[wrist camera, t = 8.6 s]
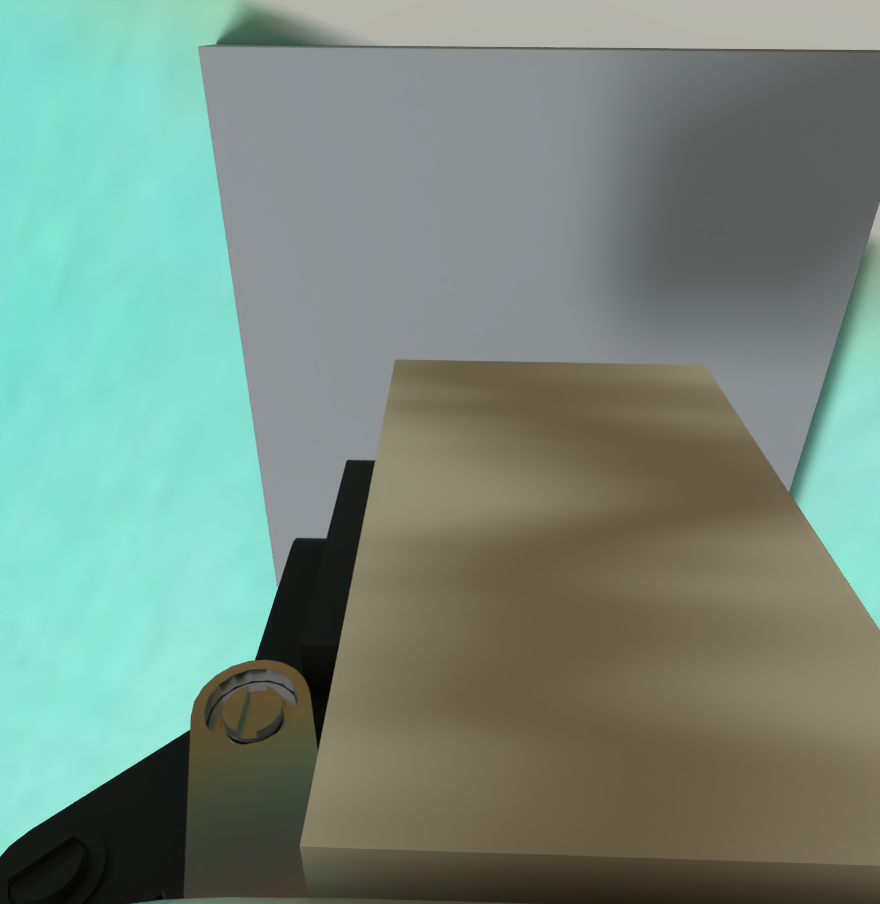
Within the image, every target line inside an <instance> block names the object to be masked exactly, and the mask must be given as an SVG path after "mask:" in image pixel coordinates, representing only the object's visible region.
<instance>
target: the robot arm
mask: <svg viewBox="0 0 880 904" xmlns="http://www.w3.org/2000/svg"><path fill="white" fill-rule="evenodd" d="M374 465H375V460H347V461H346V464H345V468H344V472H343V476H342V480H341V483H340V487H339V491H338V495H337V499H336V503H335V507H334V511H333V515H332V518H331V522H330V526H329V530H328V534H327V538H296V539H295V540H294V541H293V544H292V546H291V549H290V552H289V555H288V558H287V561H286V565H285V568H284V571H283V574H282V577H281V580H280V583H279V587H278V590H277V593H276V596H275V599H274V602H273V605H272V609H271V612H270V615H269V618H268V621H267V624H266V627H265V631H264V634H263V637H262V640H261V643H260V646H259V650H258V653H257V656H256V659H255V661H247V662H244V663H241V664H238V665H234V666H232V667H230V668H228V669H226V670H224V671H223V672H221V673H219V674H217V675H216V676H215V677H214V678H213V679H211V680H210V681H209V682H208V683H207V684H206V685H205V686H204V687H203V688H202V690H201V691H200V693H199V695H198V696H197V698H196V700H195V701H194V705H193V709H192V714H191V724H190V730H189V731H187V732H186V733H184V734H183V735H181V736H179V737H178V738H176V739H175V740H173V741H171V742H170V743H168V744H167V745H165V746H164V747H162V748H160V749H159V750H157V751H156V752H154V753H152V754H151V755H149V756H148V757H146V758H144V759H143V760H141V761H140V762H138V763H136V764H135V765H133V766H132V767H130V768H128V769H127V770H125V771H124V772H122V773H121V774H119V775H117V776H116V777H114V778H113V779H111V780H109V781H108V782H106V783H105V784H103V785H101V786H100V787H98V788H97V789H95V790H93V791H92V792H90V793H89V794H87V795H86V796H84V797H82V798H81V799H79V800H78V801H76V802H74V803H73V804H71V805H70V806H68V807H66V808H65V809H63V810H62V811H60V812H58V813H57V814H55V815H54V816H52V817H50V818H49V819H47V820H46V821H44V822H43V823H41V824H39V825H38V826H36V827H35V828H33V829H31V830H30V831H28V832H27V833H26V834H25V835H23V836H22V837H21V838H19V839H18V840H17V841H16V842H14V843H13V844H12V845H10V846H9V847H8V849H7V850H6V851H5V852H4V853H3V854H2V855H1V857H0V904H528V903H493V902H458V901H423V900H388V899H353V898H308V892H307V886H306V880H305V874H304V869H303V863H302V857H301V851H300V842H301V837H302V832H303V827H304V822H305V817H306V812H307V807H308V802H309V797H310V791H311V786H312V781H313V776H314V771H315V766H316V761H317V756H318V751H319V745H320V740H321V735H322V730H323V725H324V720H325V715H326V710H327V705H328V700H329V694H330V689H331V684H332V679H333V674H334V669H335V664H336V659H337V654H338V649H339V643H340V638H341V633H342V628H343V623H344V618H345V613H346V608H347V603H348V598H349V592H350V587H351V582H352V577H353V572H354V567H355V562H356V557H357V552H358V546H359V541H360V536H361V531H362V526H363V521H364V516H365V511H366V506H367V501H368V495H369V490H370V485H371V480H372V475H373V470H374Z"/></svg>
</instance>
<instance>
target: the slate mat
mask: <svg viewBox="0 0 880 904" xmlns="http://www.w3.org/2000/svg"><path fill="white" fill-rule="evenodd" d="M198 49H199V56H200V63H201V69H202V76H203V83H204V90H205V97H206V104H207V110H208V117H209V124H210V131H211V138H212V144H213V151H214V158H215V165H216V172H217V179H218V185H219V192H220V199H221V206H222V213H223V220H224V226H225V233H226V240H227V247H228V254H229V261H230V267H231V274H232V281H233V288H234V295H235V301H236V308H237V315H238V322H239V329H240V336H241V342H242V349H243V356H244V363H245V370H246V377H247V383H248V390H249V397H250V404H251V411H252V418H253V424H254V431H255V438H256V445H257V452H258V458H259V465H260V472H261V479H262V486H263V493H264V499H265V506H266V513H267V520H268V527H269V534H270V540H271V547H272V554H273V561H274V568H275V575H276V581H277V587H279V583H280V580H281V577H282V574H283V571H284V568H285V565H286V561H287V558H288V555H289V552H290V549H291V546H292V544H293V541H294V540H295V539H296V538H327V534H328V530H329V526H330V522H331V518H332V515H333V511H334V507H335V503H336V499H337V495H338V491H339V487H340V483H341V480H342V476H343V472H344V468H345V464H346V461H347V460H376V455H377V450H378V444H379V439H380V434H381V429H382V424H383V419H384V414H385V409H386V404H387V399H388V393H389V388H390V383H391V378H392V373H393V368H394V363H395V359H401V360H457V361H512V362H568V363H624V364H680V365H705V366H706V367H707V369H708V370H709V372H710V373H711V375H712V376H713V378H714V379H715V381H716V382H717V384H718V385H719V387H720V388H721V390H722V392H723V393H724V395H725V396H726V398H727V399H728V401H729V402H730V404H731V405H732V407H733V408H734V410H735V411H736V413H737V414H738V416H739V417H740V419H741V420H742V422H743V423H744V425H745V426H746V428H747V429H748V431H749V433H750V434H751V436H752V437H753V439H754V440H755V442H756V443H757V445H758V446H759V448H760V449H761V451H762V452H763V454H764V455H765V457H766V458H767V460H768V461H769V463H770V464H771V466H772V467H773V469H774V470H775V472H776V474H777V475H778V477H779V478H780V480H781V481H782V483H783V484H784V486H785V487H786V489H787V490H788V492H789V491H790V488H791V485H792V481H793V478H794V475H795V472H796V469H797V465H798V462H799V459H800V456H801V453H802V449H803V446H804V443H805V440H806V437H807V433H808V430H809V427H810V424H811V421H812V417H813V414H814V411H815V408H816V404H817V401H818V398H819V395H820V392H821V388H822V385H823V382H824V379H825V376H826V372H827V369H828V366H829V363H830V360H831V356H832V353H833V350H834V347H835V344H836V340H837V337H838V334H839V331H840V327H841V324H842V321H843V318H844V315H845V311H846V308H847V305H848V302H849V299H850V295H851V292H852V289H853V286H854V283H855V279H856V276H857V273H858V270H859V267H860V263H861V260H862V257H863V254H864V250H865V247H866V244H867V241H868V238H869V234H870V231H871V228H872V225H873V221H874V218H875V215H876V212H877V209H878V206H879V202H880V50H782V49H779V50H777V49H668V48H667V49H666V48H663V49H662V48H653V49H652V48H550V47H544V48H543V47H438V46H433V47H431V46H430V47H429V46H323V45H207V46H199V47H198Z"/></svg>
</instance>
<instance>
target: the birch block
mask: <svg viewBox="0 0 880 904" xmlns="http://www.w3.org/2000/svg"><path fill="white" fill-rule="evenodd" d="M300 851H301V857H302V863H303V869H304V874H305V880H306V886H307V892H308V898H353V899H388V900H423V901H458V902H493V903H528V904H880V630H879V628H878V627H877V625H876V624H875V622H874V621H873V619H872V618H871V616H870V615H869V613H868V612H867V610H866V609H865V607H864V606H863V604H862V603H861V601H860V600H859V598H858V597H857V595H856V593H855V592H854V590H853V589H852V587H851V586H850V584H849V583H848V581H847V580H846V578H845V577H844V575H843V574H842V572H841V571H840V569H839V568H838V566H837V565H836V563H835V562H834V560H833V559H832V557H831V556H830V554H829V552H828V551H827V549H826V548H825V546H824V545H823V543H822V542H821V540H820V539H819V537H818V536H817V534H816V533H815V531H814V530H813V528H812V527H811V525H810V524H809V522H808V521H807V519H806V518H805V516H804V515H803V513H802V511H801V510H800V508H799V507H798V505H797V504H796V502H795V501H794V499H793V498H792V496H791V495H790V493H789V492H788V490H787V489H786V487H785V486H784V484H783V483H782V481H781V480H780V478H779V477H778V475H777V474H776V472H775V470H774V469H773V467H772V466H771V464H770V463H769V461H768V460H767V458H766V457H765V455H764V454H763V452H762V451H761V449H760V448H759V446H758V445H757V443H756V442H755V440H754V439H753V437H752V436H751V434H750V433H749V431H748V429H747V428H746V426H745V425H744V423H743V422H742V420H741V419H740V417H739V416H738V414H737V413H736V411H735V410H734V408H733V407H732V405H731V404H730V402H729V401H728V399H727V398H726V396H725V395H724V393H723V392H722V390H721V388H720V387H719V385H718V384H717V382H716V381H715V379H714V378H713V376H712V375H711V373H710V372H709V370H708V369H707V367H706V366H705V365H680V364H624V363H568V362H512V361H457V360H401V359H395V363H394V368H393V373H392V378H391V383H390V388H389V393H388V399H387V404H386V409H385V414H384V419H383V424H382V429H381V434H380V439H379V444H378V450H377V455H376V460H375V465H374V470H373V475H372V480H371V485H370V490H369V495H368V501H367V506H366V511H365V516H364V521H363V526H362V531H361V536H360V541H359V546H358V552H357V557H356V562H355V567H354V572H353V577H352V582H351V587H350V592H349V598H348V603H347V608H346V613H345V618H344V623H343V628H342V633H341V638H340V643H339V649H338V654H337V659H336V664H335V669H334V674H333V679H332V684H331V689H330V694H329V700H328V705H327V710H326V715H325V720H324V725H323V730H322V735H321V740H320V745H319V751H318V756H317V761H316V766H315V771H314V776H313V781H312V786H311V791H310V797H309V802H308V807H307V812H306V817H305V822H304V827H303V832H302V837H301V842H300Z"/></svg>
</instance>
